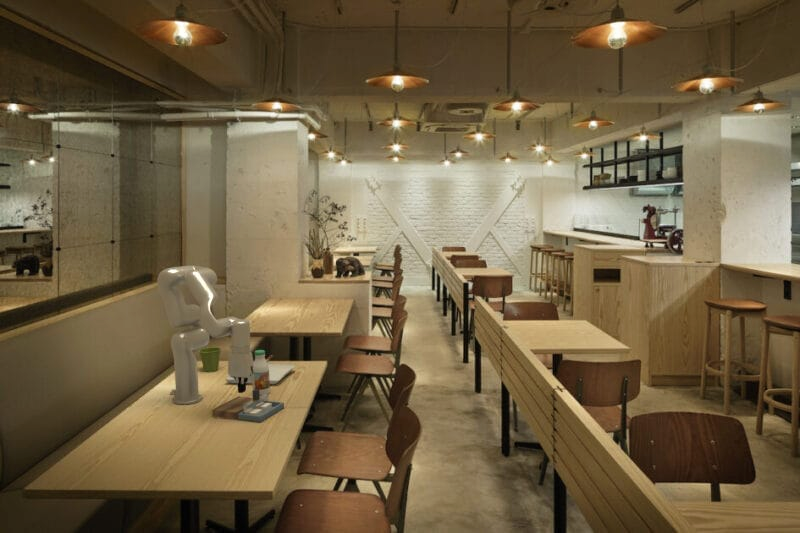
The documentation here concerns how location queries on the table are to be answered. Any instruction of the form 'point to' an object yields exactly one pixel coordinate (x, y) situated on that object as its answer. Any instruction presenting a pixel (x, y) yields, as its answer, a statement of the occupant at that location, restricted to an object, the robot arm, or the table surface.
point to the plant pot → (210, 358)
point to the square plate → (271, 373)
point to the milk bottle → (261, 373)
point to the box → (265, 415)
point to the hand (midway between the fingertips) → (241, 391)
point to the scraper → (255, 400)
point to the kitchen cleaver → (269, 358)
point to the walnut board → (231, 408)
